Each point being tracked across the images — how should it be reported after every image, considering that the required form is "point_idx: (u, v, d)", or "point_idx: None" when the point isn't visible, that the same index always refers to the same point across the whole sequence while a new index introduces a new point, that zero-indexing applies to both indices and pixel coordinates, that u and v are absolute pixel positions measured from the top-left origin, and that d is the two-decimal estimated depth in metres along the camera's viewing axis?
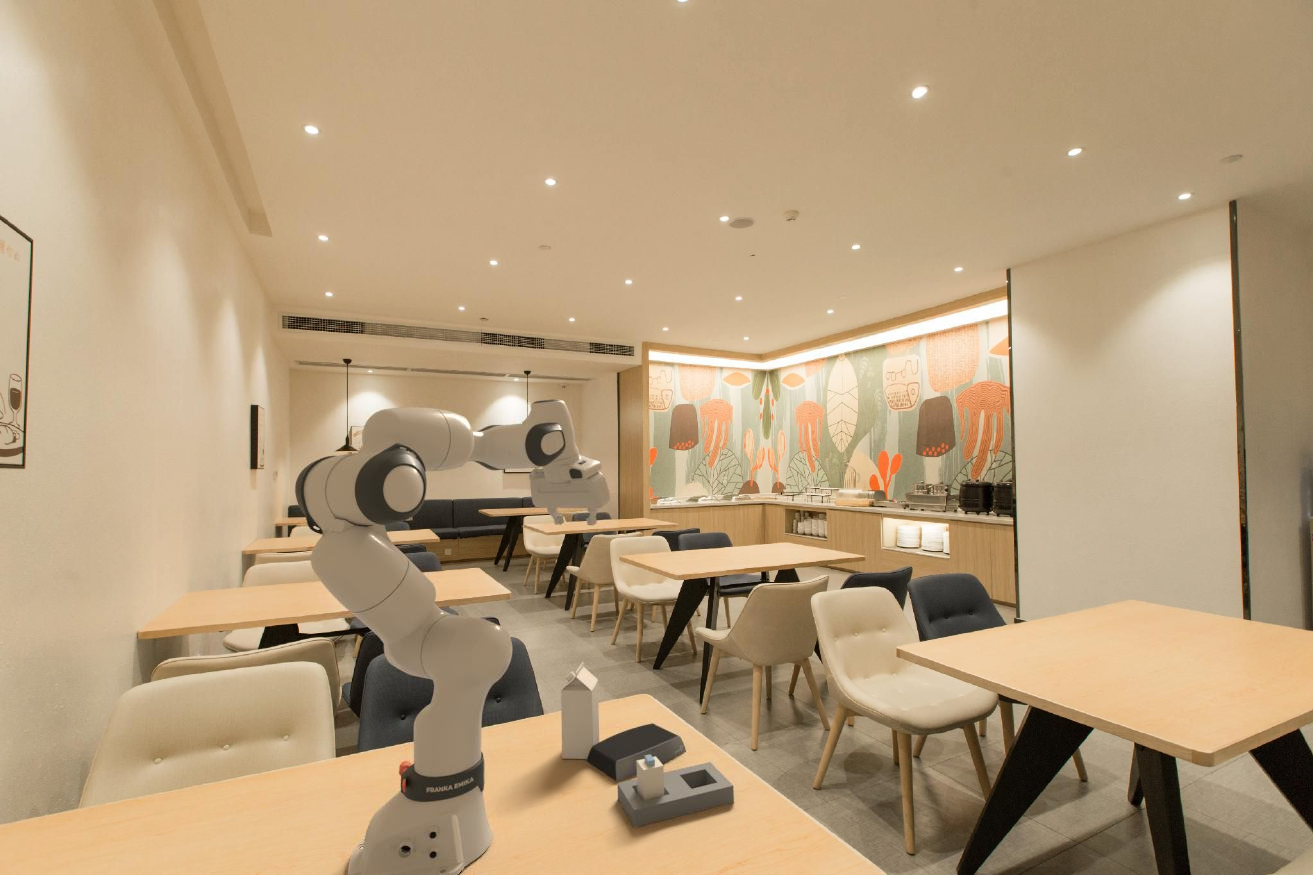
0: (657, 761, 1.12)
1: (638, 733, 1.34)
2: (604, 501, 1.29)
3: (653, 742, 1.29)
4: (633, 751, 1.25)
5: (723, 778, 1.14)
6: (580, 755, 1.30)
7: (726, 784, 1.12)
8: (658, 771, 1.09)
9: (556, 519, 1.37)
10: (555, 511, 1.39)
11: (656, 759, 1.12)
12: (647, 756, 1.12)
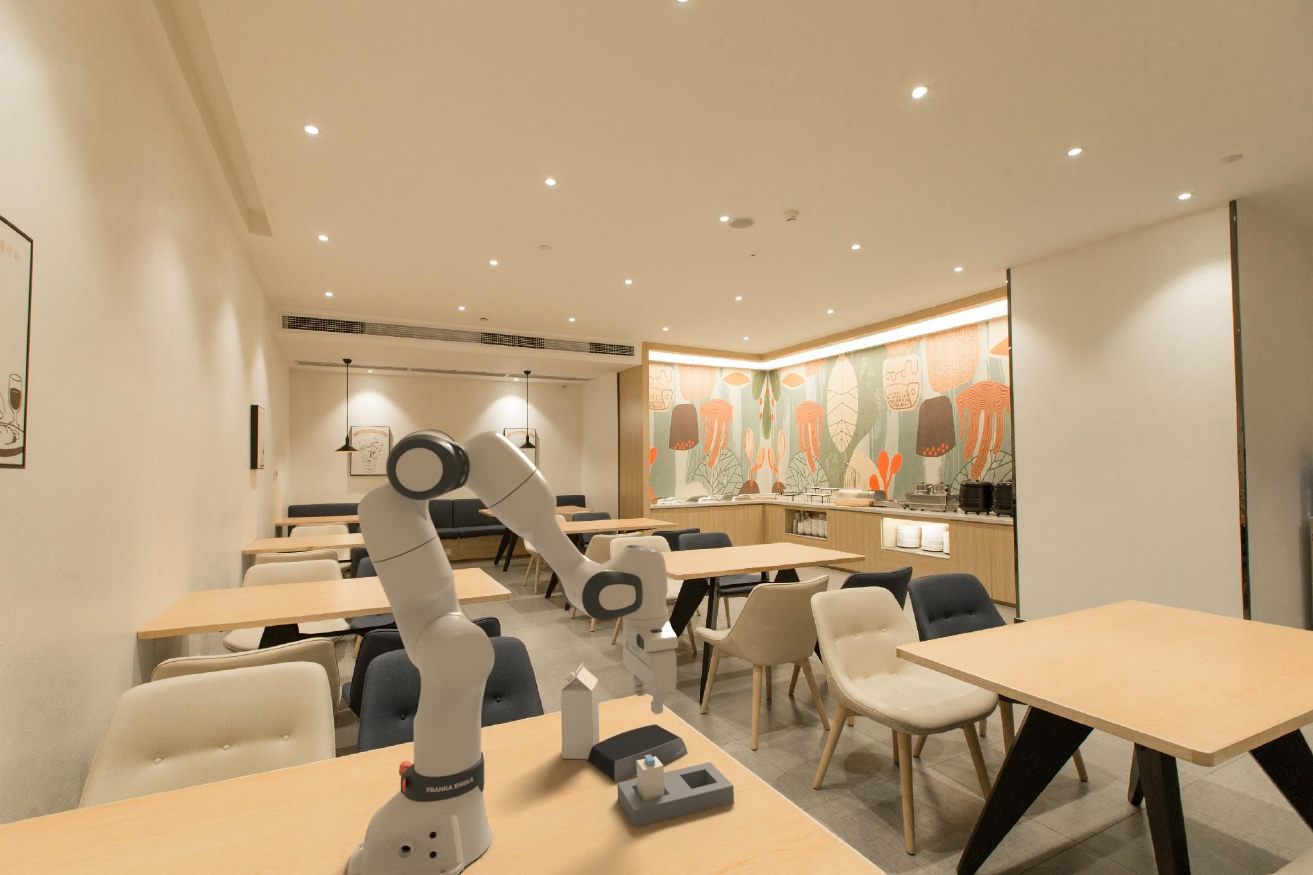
0: (657, 761, 1.12)
1: (640, 734, 1.34)
2: (662, 690, 1.03)
3: (653, 744, 1.28)
4: (632, 752, 1.25)
5: (723, 778, 1.14)
6: (580, 756, 1.30)
7: (726, 784, 1.12)
8: (658, 771, 1.09)
9: (635, 687, 1.16)
10: None
11: (656, 759, 1.12)
12: (647, 756, 1.12)
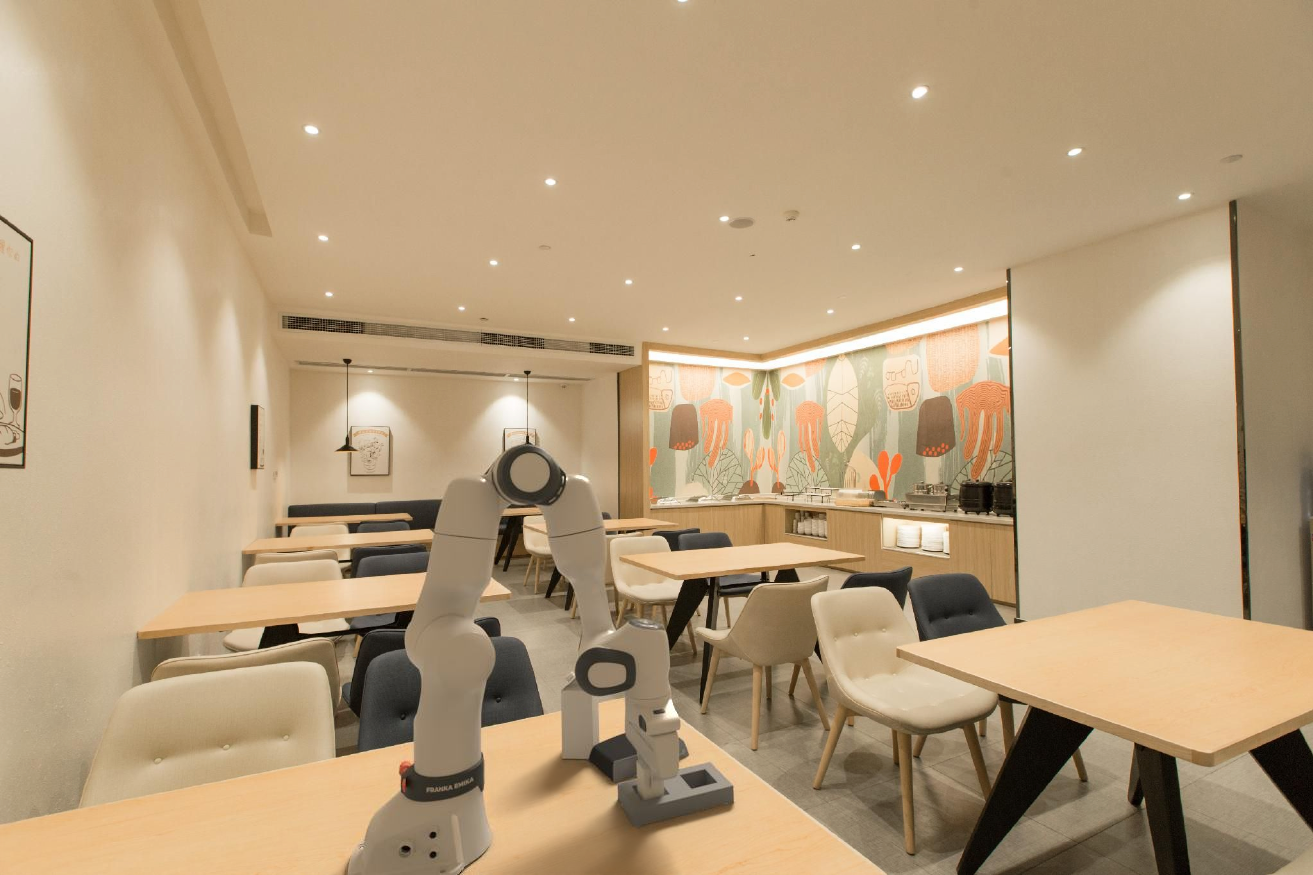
0: None
1: None
2: (665, 775, 1.02)
3: None
4: (632, 753, 1.25)
5: (723, 778, 1.14)
6: (580, 756, 1.30)
7: (726, 784, 1.12)
8: None
9: None
10: None
11: None
12: None
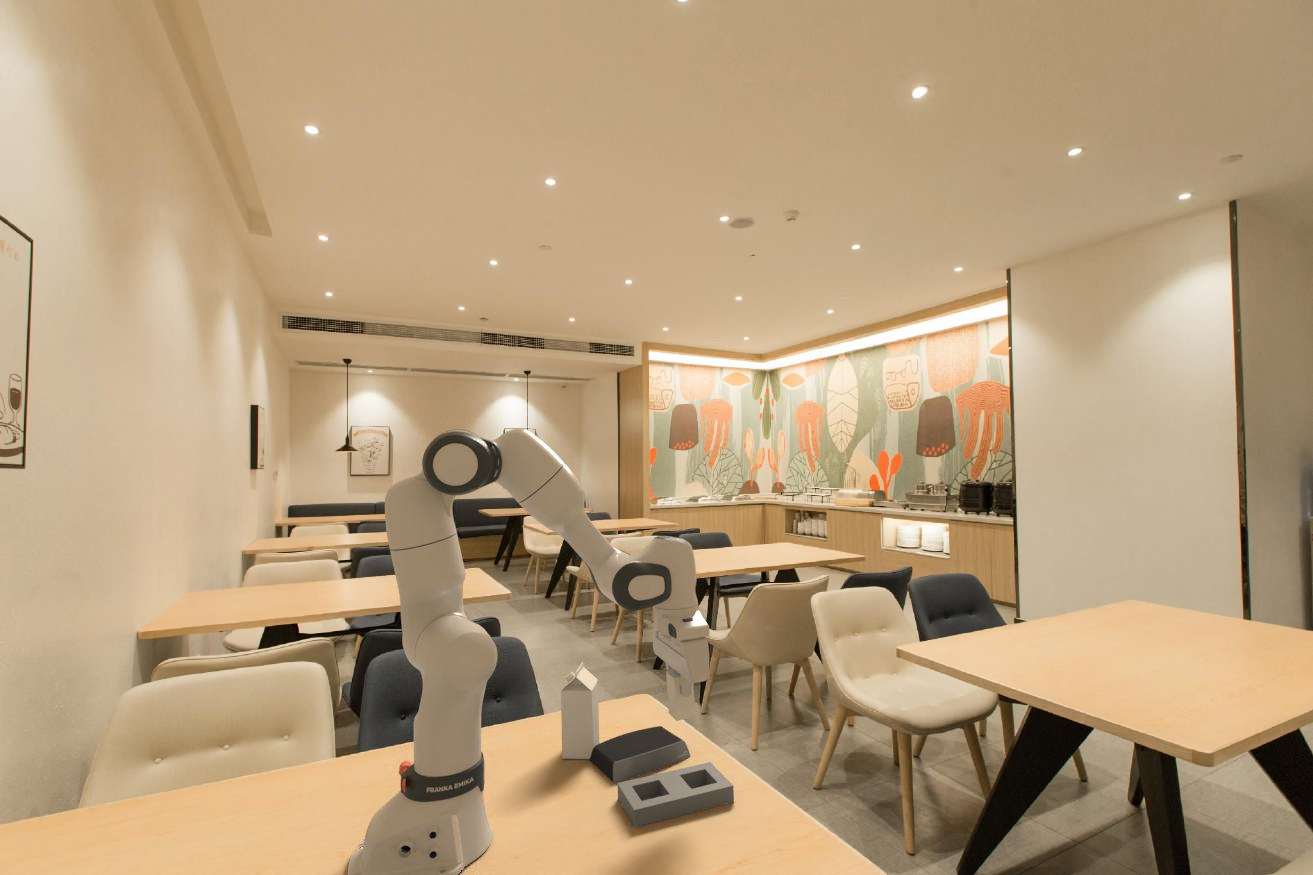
0: None
1: (643, 735, 1.33)
2: (696, 677, 1.05)
3: (655, 746, 1.27)
4: (633, 753, 1.24)
5: (723, 778, 1.14)
6: (580, 756, 1.30)
7: (726, 784, 1.12)
8: None
9: None
10: (674, 669, 1.17)
11: None
12: None
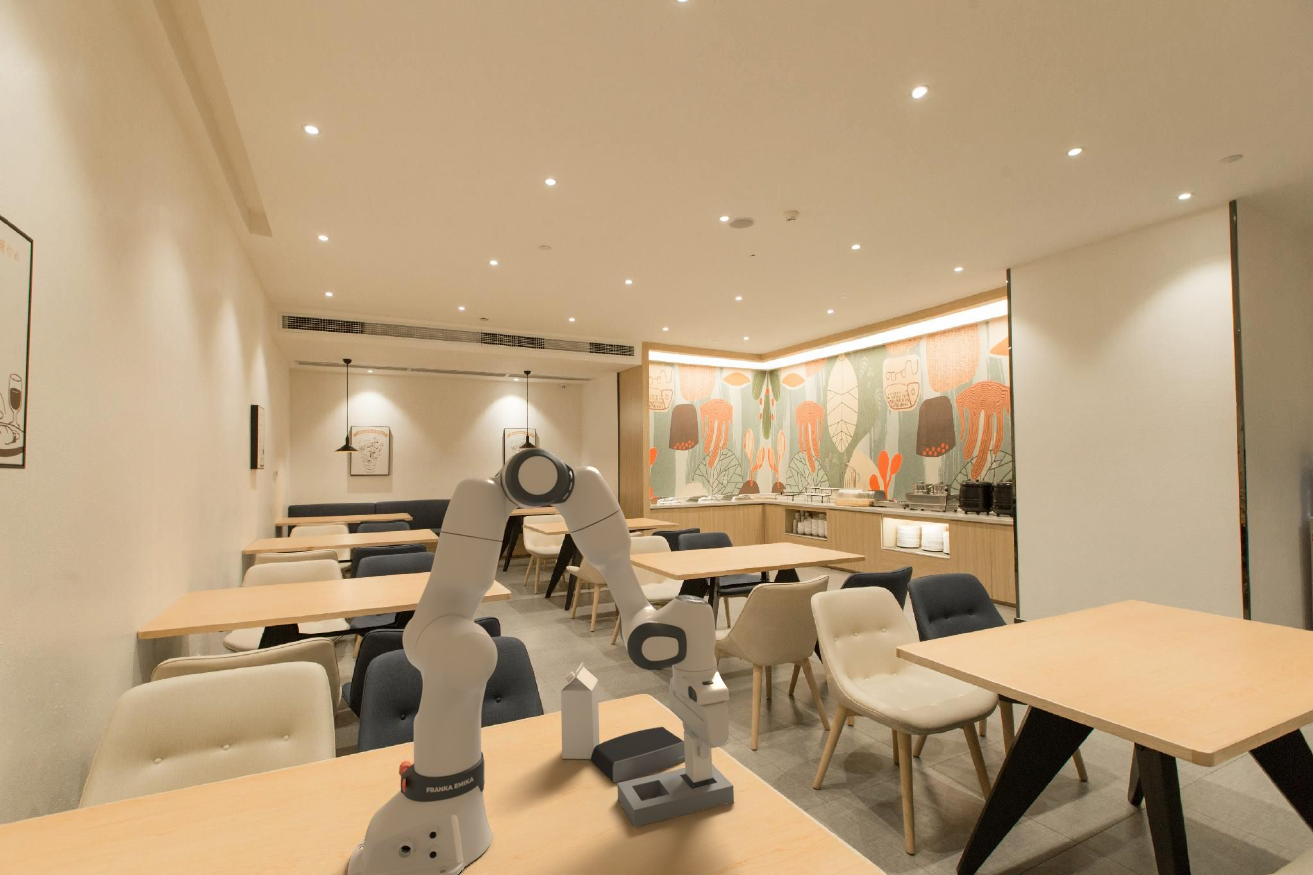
0: None
1: (644, 736, 1.33)
2: (716, 742, 1.06)
3: (655, 746, 1.27)
4: (633, 754, 1.24)
5: (723, 778, 1.14)
6: (580, 756, 1.30)
7: (726, 784, 1.12)
8: None
9: None
10: None
11: None
12: None
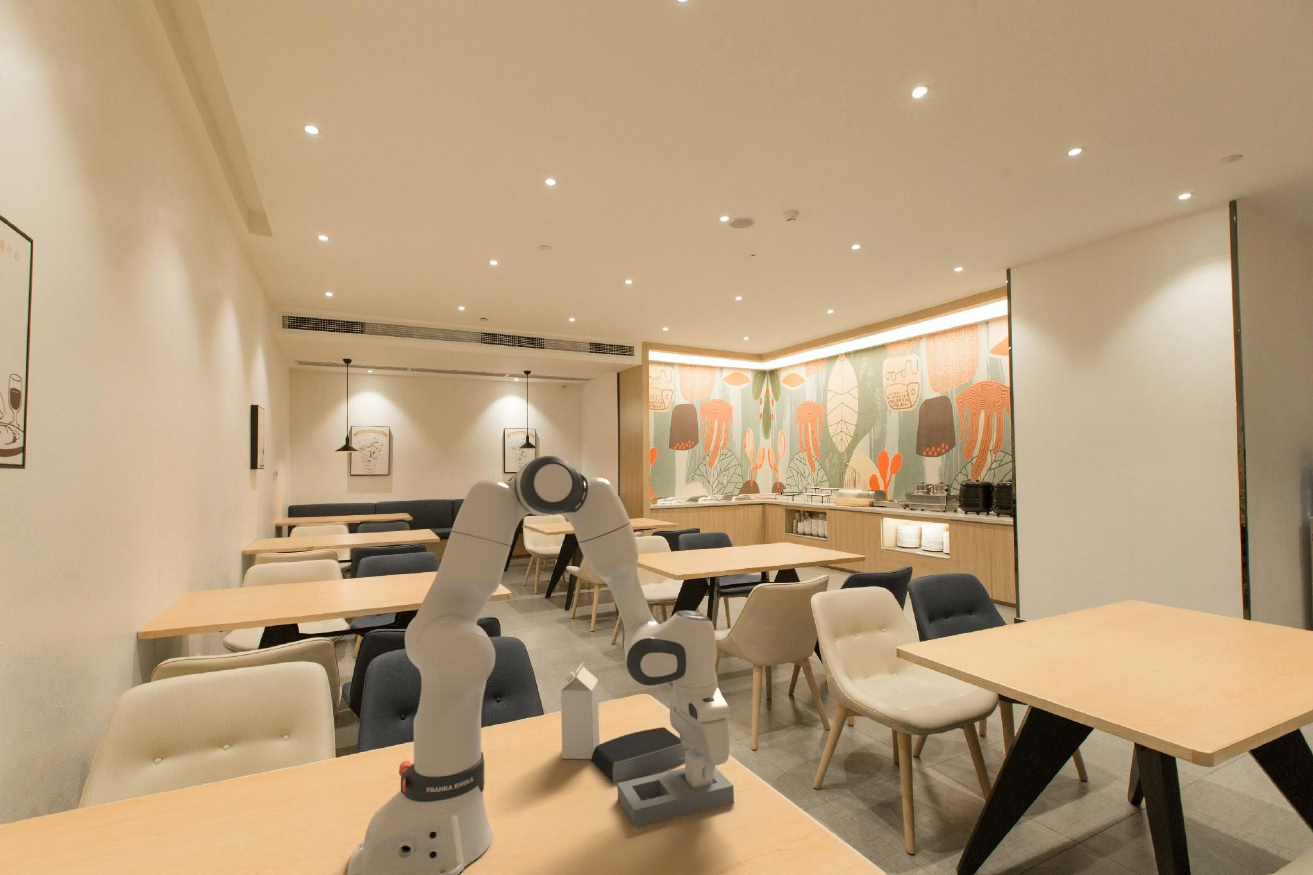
0: None
1: (645, 736, 1.32)
2: (716, 760, 1.05)
3: (656, 747, 1.27)
4: (633, 754, 1.24)
5: (723, 778, 1.14)
6: (580, 756, 1.30)
7: (726, 784, 1.12)
8: None
9: (684, 751, 1.18)
10: None
11: None
12: None
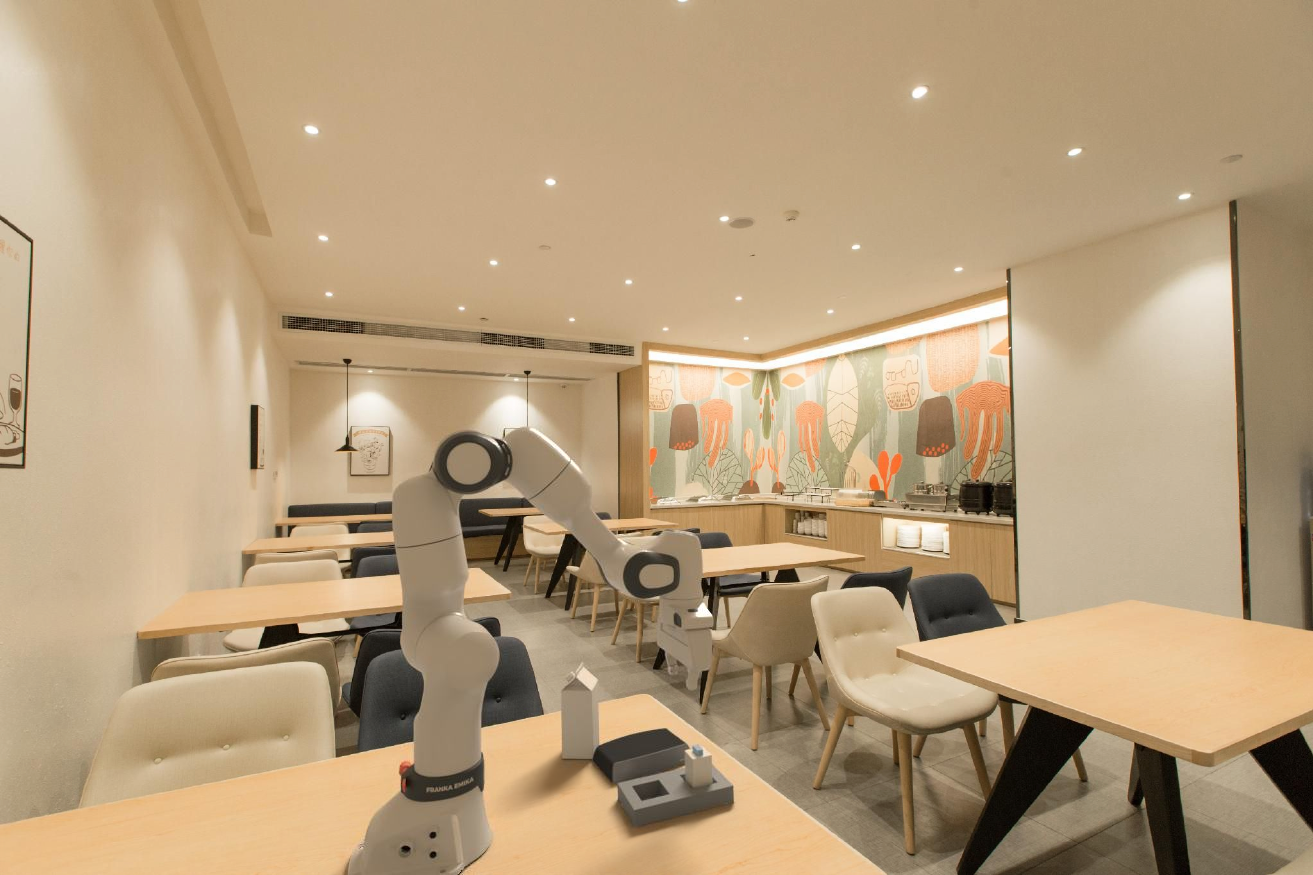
0: (705, 751, 1.15)
1: (646, 737, 1.32)
2: (699, 666, 1.07)
3: (657, 748, 1.26)
4: (633, 755, 1.24)
5: (723, 778, 1.14)
6: (580, 756, 1.30)
7: (726, 784, 1.12)
8: (706, 760, 1.13)
9: (669, 667, 1.21)
10: (673, 658, 1.22)
11: (703, 749, 1.16)
12: (695, 746, 1.15)
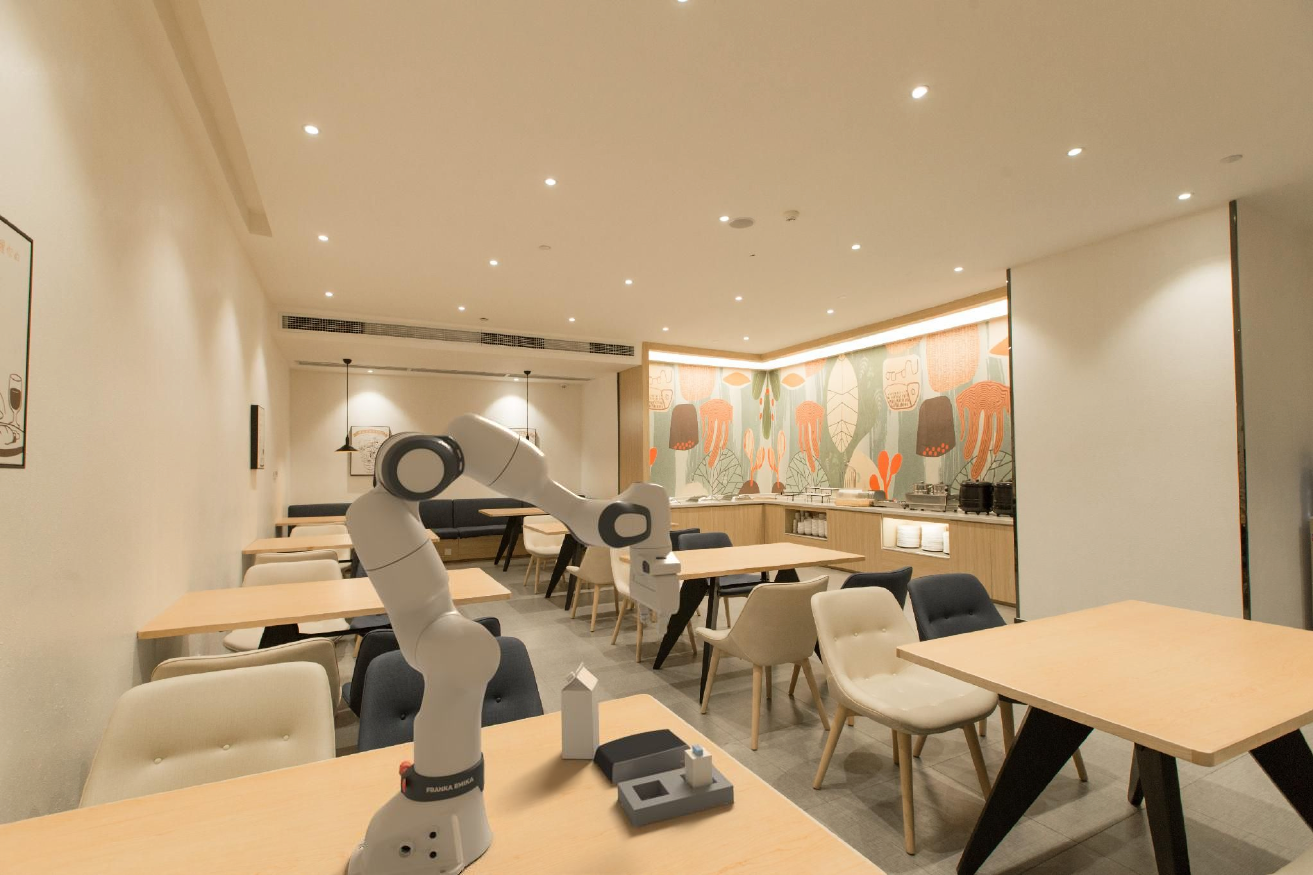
0: (705, 751, 1.15)
1: (648, 738, 1.32)
2: (667, 609, 1.11)
3: (657, 749, 1.26)
4: (634, 756, 1.23)
5: (723, 778, 1.14)
6: (580, 756, 1.30)
7: (726, 784, 1.12)
8: (706, 760, 1.13)
9: (641, 616, 1.25)
10: (645, 607, 1.26)
11: (703, 749, 1.16)
12: (695, 746, 1.15)
